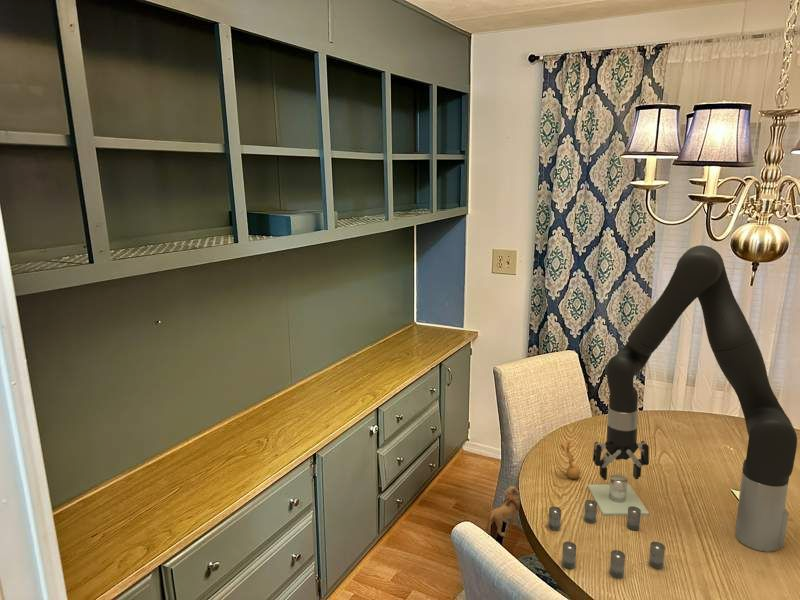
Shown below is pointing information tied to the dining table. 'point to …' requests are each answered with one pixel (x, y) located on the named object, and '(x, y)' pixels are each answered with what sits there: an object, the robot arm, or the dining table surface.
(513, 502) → the lion figurine
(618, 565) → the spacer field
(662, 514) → the dining table surface
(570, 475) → the figurine
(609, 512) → the sage mat
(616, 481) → the clear rounded cylinder
